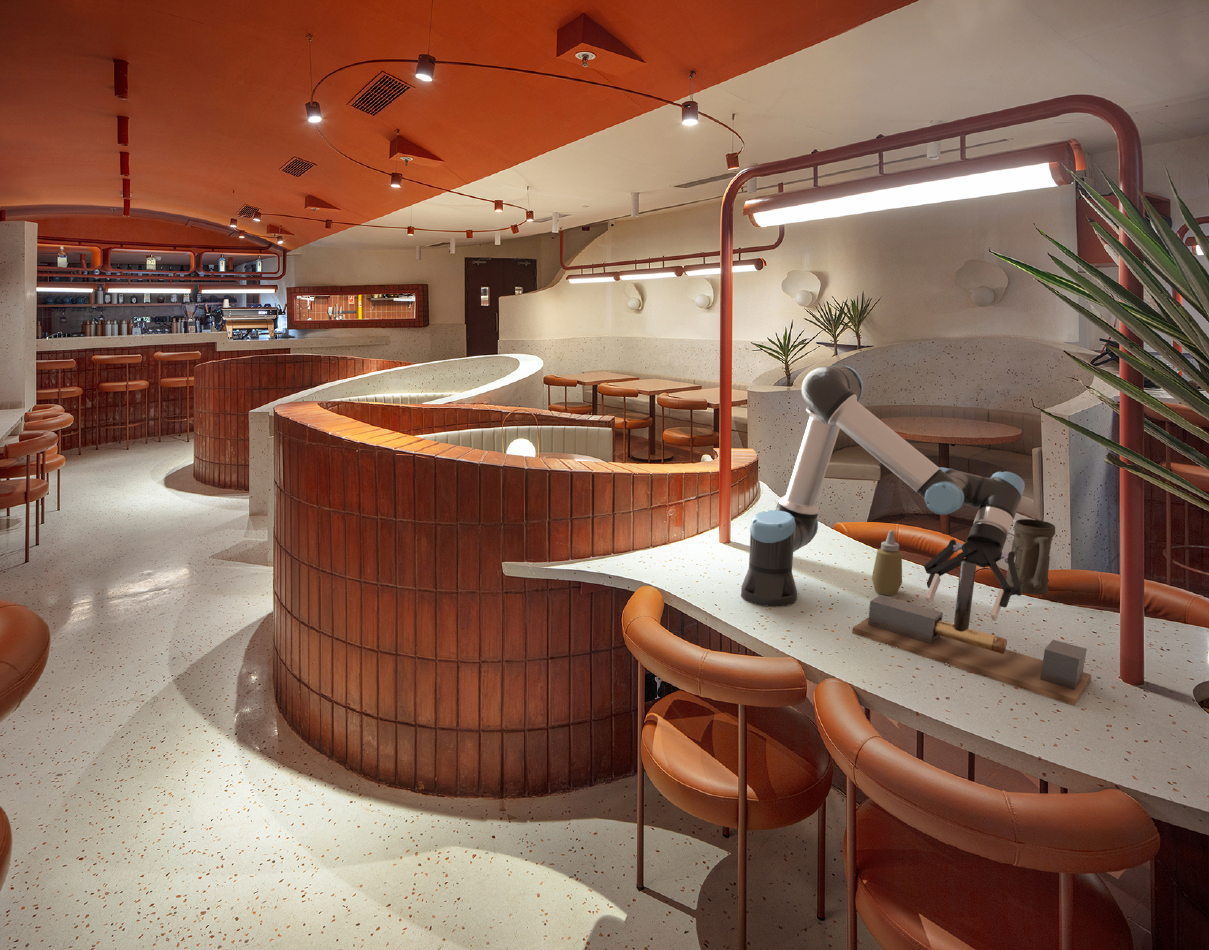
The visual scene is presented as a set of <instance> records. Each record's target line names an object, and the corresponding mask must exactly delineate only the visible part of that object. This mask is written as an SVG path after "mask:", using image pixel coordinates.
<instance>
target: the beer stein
mask: <svg viewBox="0 0 1209 950" xmlns="http://www.w3.org/2000/svg"><path fill="white" fill-rule="evenodd" d="M1013 531H1014V536H1013V540H1012V542H1011V543H1012V545H1011V551H1012V552H1014V553H1015V556H1016V563H1015V568H1016V572H1017V575H1018V579H1019V583H1020V586H1021V591H1022V594H1026V595H1033V596H1038V595H1039V596H1040V595H1045V594H1048V593H1049V586H1048V585H1049V582H1050V580H1049V569H1050V561H1051V559H1050V558H1051V556H1050V554H1051V553H1050V552H1051V548H1052V547H1051V545H1052V541H1053V537H1054V536H1055V535H1056V526H1055V524H1053V523H1050V522H1049V521H1045V520H1040V519H1031V518H1022V519H1021V518H1020V519H1017V520H1016V521H1015V523H1014V526H1013ZM1011 551H1010V552H1011ZM1005 579H1006V581H1007V583H1008V584H1009V586H1010V587H1014V585H1013V581H1012V577H1011V574H1010V570H1009V566H1008V568H1007V572H1006V578H1005Z"/></svg>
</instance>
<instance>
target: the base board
mask: <svg viewBox="0 0 1209 950" xmlns="http://www.w3.org/2000/svg"><path fill="white" fill-rule="evenodd" d="M868 621H869V616H868V617H867V618H865V619H863V620H861V622H859V623H857V624H856V625H854V626H852V629H851V634H853V635H857V636H860V637H862V638H866V639H869V640H871V641H875V642H878V643H882V644H884V645H887V644H888V646H890V647H894V648H896V647H897V648H896V649H900V650H902V651H905V652H909V653H912V654H914V653H915V655H916V656H918V655H919V656H921V655H922V656H921V657H924V658H927V659H930V658H931V659H930V660H933V661H936V662H938V663H942V662H943V663H942V664H945V663H947V664H946V665H948V664H949V666H952V667H954V666H955V668H957V669H961V670H964V671H966V672H969V673H973V674H977V675H978V676H979V675H980V676H982V677H986V678H988V679H992V680H994V681H996V682H997V681H998V682H1000V683H1004V684H1007V685H1010V686H1013V687H1016V688H1019V689H1022V690H1025V691H1029V692H1031V693H1034V694H1036V695H1037V694H1038V695H1040V696H1043V697H1046V698H1049V699H1053V700H1056V701H1058V702H1062V703H1065V704H1067V705H1068V704H1069V705H1071V706H1073V707H1074V706H1075V707H1076V705H1077V703H1078V702H1079V700H1080V698H1081V697H1082V695H1083V694H1084V692H1085V690H1086V689H1087V687H1088V685H1090V683H1091V680H1092V674H1091V673H1087V672H1084V671H1083V675H1082V679H1081V681H1080V683H1079V684H1078V686H1077V687H1076V689H1075V690H1072V689H1069V688H1065V687H1062V686H1059V685H1056V684H1053V683H1049V682H1046V681H1043V680H1040V678H1041V671H1042V664H1043V659H1040V658H1037V657H1034V656H1030V655H1025V654H1023V653H1020V652H1015V651H1013V650H1011V649H1010V650H1009V649H1007V648H1006V649H1005V652H1004V653H1003V654H1001V653H997V652H994V651H991V650H987V649H984V648H981V647H977V646H974V645H971V644H967V643H964V642H961V641H957V640H954V639H951V638H947V637H944V636H941V635H940V638H939V639H937V640H936V641H935V642H934V643H933V644H928V643H925V642H921V641H918V640H915V639H912V638H908V637H905V636H902V635H899V634H896V633H892V632H889V631H886V630H883V629H880V628H876V627H873V626H870V625H868Z"/></svg>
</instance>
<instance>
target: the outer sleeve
mask: <svg viewBox="0 0 1209 950" xmlns="http://www.w3.org/2000/svg"><path fill="white" fill-rule="evenodd" d="M943 616H944V612H943V611H940V610H937V609H933V608H928V607H925V606H921V605H918V604H914V603H911V602H907V601H904V600H900V599H896V598H893V597H889V596H885V595H883V594H879V595H878V596H876V597H874V598H873V599H871V600H870V601H869V612H868V617H869V621H868V625H870V626H873V627H876V628H880V629H883V630H886V631H889V632H892V633H896V634H899V635H902V636H905V637H908V638H912V639H915V640H918V641H921V642H925V643H928V644H933V643H934V642H935V641H936V640H937V639H939V638H940V635H937V634H934V626H935V621H936V620H941V621H943Z"/></svg>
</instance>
